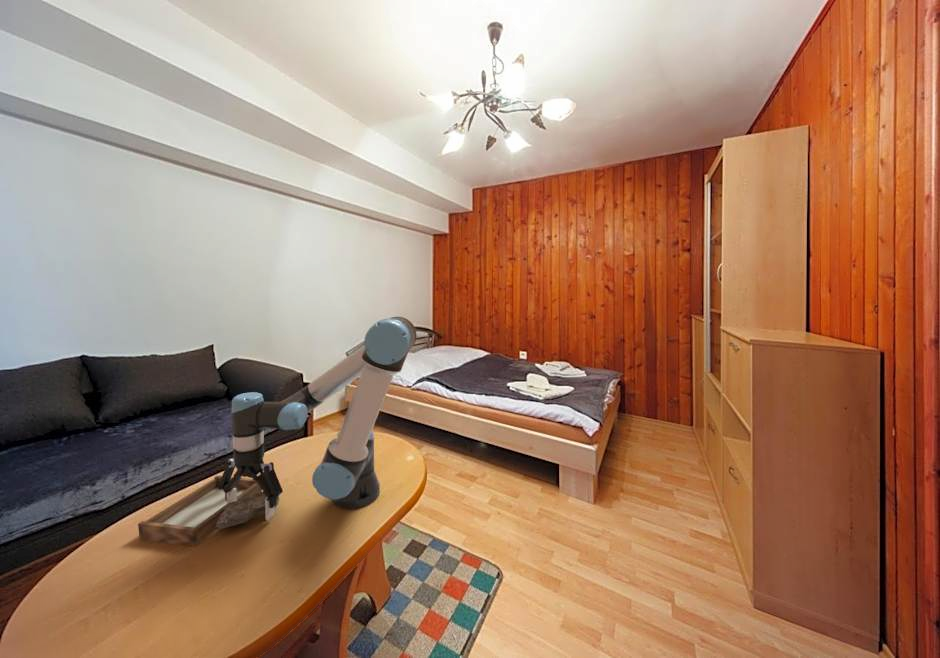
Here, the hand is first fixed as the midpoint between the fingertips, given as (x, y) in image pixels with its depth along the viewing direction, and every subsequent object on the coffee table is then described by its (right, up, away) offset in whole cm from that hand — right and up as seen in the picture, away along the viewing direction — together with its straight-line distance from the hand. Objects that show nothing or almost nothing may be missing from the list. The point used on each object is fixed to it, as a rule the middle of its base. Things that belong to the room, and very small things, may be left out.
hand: (251, 513), depth 97 cm
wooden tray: (-16, -2, +3) cm, 16 cm away
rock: (0, -1, 0) cm, 1 cm away
